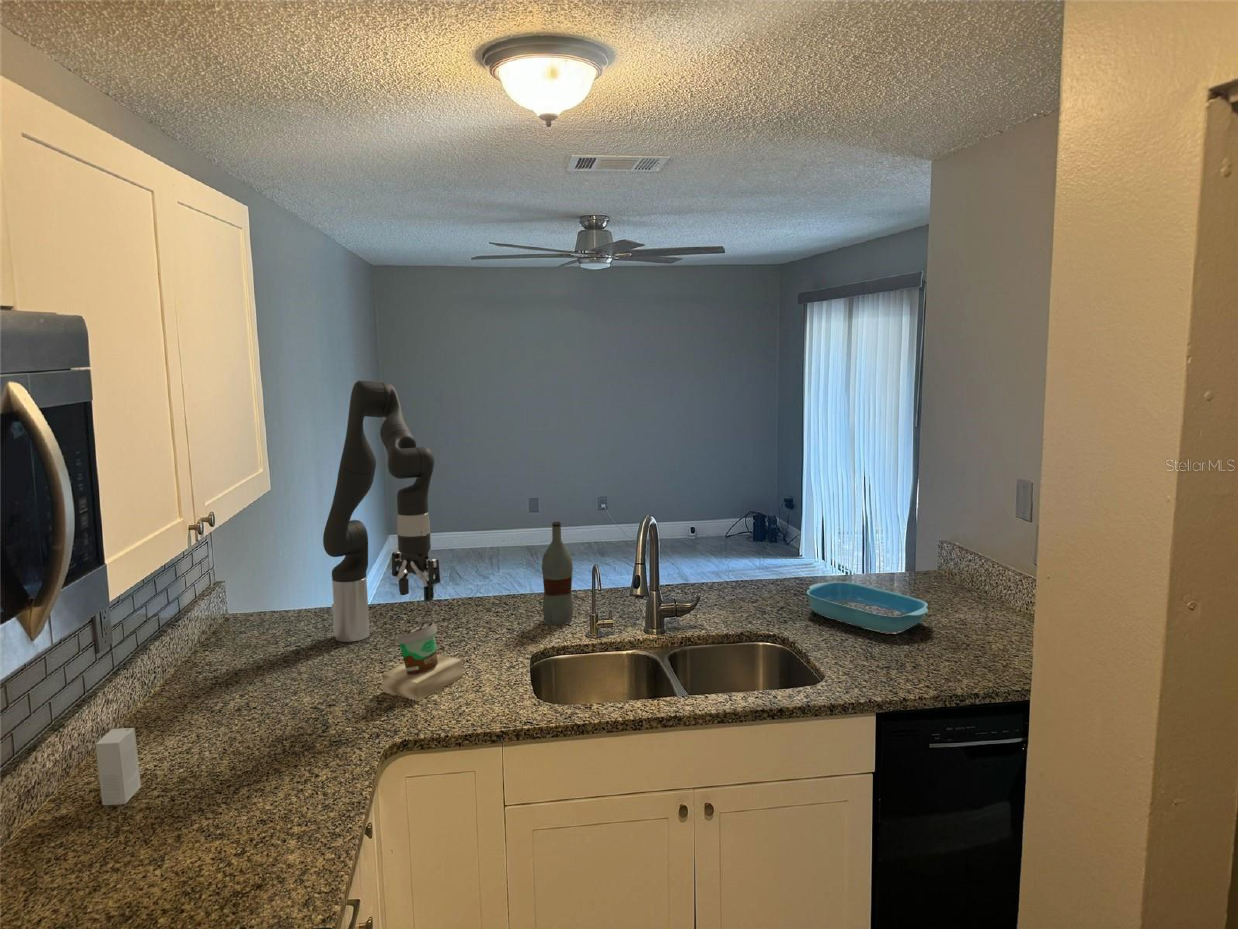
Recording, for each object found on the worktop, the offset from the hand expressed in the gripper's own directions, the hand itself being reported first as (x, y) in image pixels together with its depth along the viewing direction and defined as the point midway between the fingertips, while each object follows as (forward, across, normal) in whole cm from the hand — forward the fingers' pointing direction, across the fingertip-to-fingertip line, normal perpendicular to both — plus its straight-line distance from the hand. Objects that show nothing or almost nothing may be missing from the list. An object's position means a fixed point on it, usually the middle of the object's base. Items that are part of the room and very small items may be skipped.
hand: (416, 597), depth 200 cm
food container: (+17, +3, 0) cm, 17 cm away
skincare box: (+22, -6, -66) cm, 70 cm away
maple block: (+22, +1, 0) cm, 22 cm away
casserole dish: (+22, +73, +108) cm, 132 cm away
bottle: (+22, -2, +55) cm, 59 cm away
